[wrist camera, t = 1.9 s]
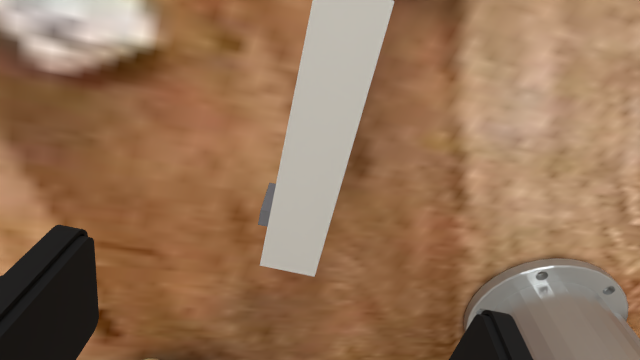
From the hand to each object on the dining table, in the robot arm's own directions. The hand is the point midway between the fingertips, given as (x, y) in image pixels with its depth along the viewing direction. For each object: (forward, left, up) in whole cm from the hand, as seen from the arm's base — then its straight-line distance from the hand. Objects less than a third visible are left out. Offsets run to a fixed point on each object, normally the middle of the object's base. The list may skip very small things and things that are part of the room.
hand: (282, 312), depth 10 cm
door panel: (0, 0, -19) cm, 19 cm away
